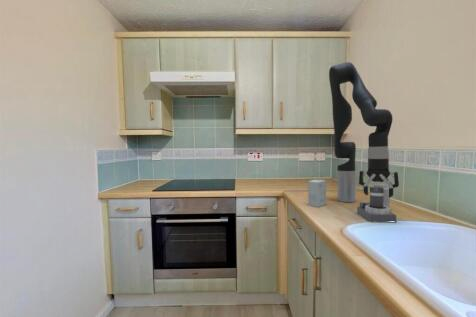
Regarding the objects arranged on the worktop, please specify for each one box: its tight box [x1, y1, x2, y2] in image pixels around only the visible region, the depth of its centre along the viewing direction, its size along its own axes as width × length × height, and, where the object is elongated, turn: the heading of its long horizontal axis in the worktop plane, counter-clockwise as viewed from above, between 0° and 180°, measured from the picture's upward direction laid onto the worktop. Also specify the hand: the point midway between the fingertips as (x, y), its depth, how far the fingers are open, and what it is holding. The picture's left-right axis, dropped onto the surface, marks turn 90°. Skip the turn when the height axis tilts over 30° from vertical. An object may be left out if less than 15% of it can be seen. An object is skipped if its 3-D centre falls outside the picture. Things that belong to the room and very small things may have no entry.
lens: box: [369, 186, 384, 209], centre depth 100 cm, size 5×5×10 cm
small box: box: [307, 179, 327, 208], centre depth 127 cm, size 8×6×13 cm
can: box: [372, 183, 391, 208], centre depth 115 cm, size 8×8×12 cm
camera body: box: [356, 200, 397, 222], centre depth 103 cm, size 14×10×6 cm
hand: (378, 196), depth 100 cm, fingers open, 8 cm apart
